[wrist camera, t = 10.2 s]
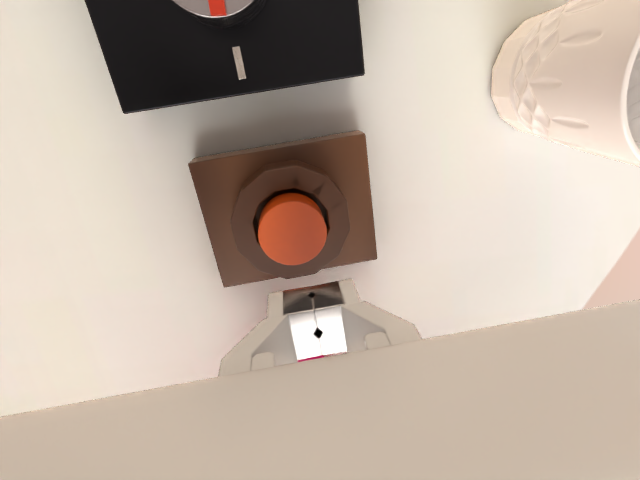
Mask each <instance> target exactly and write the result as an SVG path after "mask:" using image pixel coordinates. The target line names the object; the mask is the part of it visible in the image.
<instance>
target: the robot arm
mask: <svg viewBox="0 0 640 480" xmlns="http://www.w3.org/2000/svg"><path fill="white" fill-rule="evenodd" d="M346 351H347V353H345V354H340V355H334V356H329V357H323V358H318V359H312V360H307V361H302V362H298V360H302V359H307V358H311V357H316V356H321V355H327V354H333V353H340V352H346ZM0 480H640V299H639V300H633V301H628V302H622V303H617V304H612V305H606V306H601V307H595V308H590V309H584V310H579V311H573V312H568V313H563V314H557V315H552V316H546V317H541V318H535V319H530V320H524V321H519V322H514V323H508V324H503V325H497V326H492V327H486V328H481V329H476V330H470V331H465V332H459V333H454V334H448V335H443V336H437V337H432V338H427V339H422V338H421V336H420V334H419V332H418V331H417V329H416V327H415V325H414V324H412V323H410V322H408V321H406V320H403V319H401V318H399V317H397V316H395V315H393V314H391V313H389V312H387V311H385V310H382V309H380V308H378V307H376V306H374V305H372V304H370V303H368V302H366V301H362V302H361V300H360V298H359V295H358V292H357V290H356V287H355V284H354V282H353V279H346V280H342V281H336V282H331V283H326V284H321V285H316V286H310V287H304V288H297V289H291V290H285V291H278V292H273V293H269V295H268V307H267V319H263V320H262V321H261V322H260V323H259V324H258V325H257V326H256V327H255V328H254V329H253V330H251V331H250V332H249V333H248V334H247V335H246V336H245V337H244V338H243V339H242V340H241V341H240V342H239V343H238V344H237V345H236V346H235V347H234V348H233V349H232V350H231V351H230V352H229V353H228V354H227V355H226V356H225V357H224V358H223V359H222V360H221V365H220V369H219V374H218V377H214V378H209V379H203V380H198V381H193V382H187V383H182V384H176V385H171V386H165V387H160V388H155V389H149V390H144V391H138V392H133V393H128V394H122V395H117V396H111V397H106V398H100V399H95V400H90V401H84V402H79V403H73V404H68V405H62V406H57V407H51V408H46V409H40V410H35V411H30V412H24V413H19V414H13V415H8V416H2V417H0Z"/></svg>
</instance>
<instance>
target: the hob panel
mask: <svg viewBox="0 0 640 480" xmlns="http://www.w3.org/2000/svg"><path fill="white" fill-rule="evenodd" d="M85 2H86V5H87V8H88V11H89V14H90V17H91V20H92V23H93V26H94V29H95V32H96V34H97V37H98V40H99V43H100V46H101V49H102V52H103V55H104V58H105V61H106V64H107V67H108V70H109V73H110V76H111V79H112V82H113V84H114V87H115V90H116V93H117V96H118V99H119V102H120V105H121V108H122V111H123V113H124V114H128V113H134V112H141V111H147V110H153V109H159V108H165V107H171V106H178V105H184V104H190V103H196V102H202V101H208V100H215V99H221V98H227V97H233V96H239V95H245V94H252V93H258V92H264V91H270V90H276V89H282V88H289V87H295V86H301V85H307V84H313V83H319V82H326V81H332V80H338V79H344V78H350V77H357V76H363V75H364V74H365V70H364V59H363V48H362V37H361V27H360V16H359V5H358V0H267V1H266V3H265V5H264V7H263V9H262V11H261V12H260V13H259V14H258V16H257V17H256V18H255V19H254V20H253V21H251V22H250V23H248V24H247V25H245V26H243V27H240V28H237V29H233V30H218V29H214V28H210V27H208V26H205V25H203V24H202V23H200V22H198V21H197V20H195V19H194V18H193V17H192V16H190V15H189V14H188V13H187V12H186V11H184V10H183V9H182V8H181V7H180V6H178V5H177V4H176V3H175V2H174V1H173V0H85Z"/></svg>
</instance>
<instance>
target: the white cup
mask: <svg viewBox="0 0 640 480" xmlns="http://www.w3.org/2000/svg"><path fill="white" fill-rule="evenodd" d="M491 97H492V100H493V102H494V104H495V107H496V109H497V112H498V114H499V116H500V118H501V119H502V120H504V121H505V122H506V123H508V124H509V125H510V126H512V127H513V128H515V129H516V130H517V131H520V132H524V133H528V134H532V135H536V136H539V137H541V138H543V139H546V140H548V141H551V142H553V143H557V144H561V145H564V146H567V147H570V148H573V149H576V150H579V151H583V152H586V153H590V154H593V155H597V156H601V157H604V158H608V159H612V160H615V161H619V162H622V163H626V164H630V165H633V166H637V167H640V0H571V1H569V2H568V3H566V4H565V5H563V6H560V7H557V8H554V9H551V10H548V11H546V12H544V13H541V14H539V15H536V16H534V17H531V18H529V19H526V20H525V21H524V22H523V23H522V24H521V25H520V26H519V27H518V28H517V29H516V30H515V31H514V32H513V33H512V34H511V35H510V36H509V37H508V38H507V39H506V40H505V41H504V43H503V46H502V48H501V50H500V52H499V55H498V57H497V59H496V61H495V64H494V66H493V68H492V84H491Z"/></svg>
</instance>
